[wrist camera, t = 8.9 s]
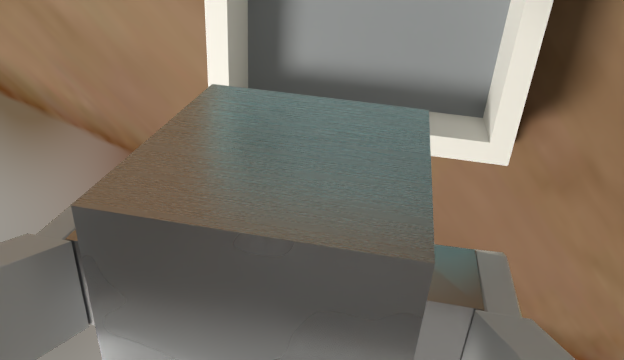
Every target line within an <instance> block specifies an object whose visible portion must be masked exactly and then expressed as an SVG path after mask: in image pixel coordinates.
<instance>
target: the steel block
mask: <svg viewBox="0 0 624 360" xmlns="http://www.w3.org/2000/svg"><path fill="white" fill-rule="evenodd" d="M71 209H72V214H73V219H74V224H75V229H76V234H77V239H78V244H79V249H80V254H81V259H82V264H83V269H84V273H85V278H86V283H87V288H88V293H89V298H90V303H91V308H92V313H93V318H94V323H95V328H96V332H97V337H98V342H99V347H100V352H101V357H102V360H414V356H415V351H416V347H417V342H418V338H419V333H420V329H421V324H422V320H423V315H424V311H425V306H426V302H427V297H428V293H429V288H430V284H431V279H432V275H433V270H434V266H435V254H434V228H433V203H432V177H431V151H430V125H429V110H425V109H417V108H409V107H400V106H392V105H384V104H375V103H367V102H359V101H350V100H342V99H334V98H325V97H317V96H309V95H300V94H292V93H284V92H275V91H267V90H259V89H250V88H242V87H234V86H225V85H217V84H212V85H210V86H209V87H208V88H207V89H206V90H205V91H203V92H202V93H201V94H200V95H199V96H198V97H197V98H195V99H194V100H193V101H192V102H191V103H190V104H188V105H187V106H186V107H185V108H184V109H183V110H181V111H180V112H179V113H178V114H177V115H176V116H174V117H173V118H172V119H171V120H170V121H169V122H167V123H166V124H165V125H164V126H163V127H162V128H160V129H159V130H158V131H157V132H156V133H155V134H153V135H152V136H151V137H150V138H149V139H148V140H146V141H145V142H144V143H143V144H142V145H141V146H139V147H138V148H137V149H136V150H135V151H134V152H132V153H131V154H130V155H129V156H128V157H127V158H126V159H124V160H123V161H122V162H121V163H120V164H119V165H118V166H116V167H115V168H114V169H113V170H112V171H110V172H109V173H108V174H107V175H106V176H105V177H103V178H102V179H101V180H100V181H99V182H98V183H96V184H95V185H94V186H93V187H92V188H91V189H90V190H88V191H87V192H86V193H85V194H84V195H82V196H81V197H80V198H79V199H78V200H77V201H75V202H74V203H73V204H72V205H71Z"/></svg>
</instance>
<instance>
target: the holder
mask: <svg viewBox="0 0 624 360" xmlns="http://www.w3.org/2000/svg"><path fill="white" fill-rule="evenodd" d="M553 1H554V0H205V20H206V43H207V67H208V87H209V86H210V85H212V84H217V85H225V86H234V87H242V88H250V89H259V90H267V91H275V92H284V93H292V94H300V95H309V96H317V97H325V98H334V99H342V100H350V101H359V102H367V103H375V104H384V105H392V106H400V107H409V108H417V109H425V110H429V125H430V151H431V156H437V157H444V158H452V159H460V160H467V161H475V162H482V163H490V164H498V165H505V166H508V163H509V160H510V156H511V153H512V149H513V145H514V142H515V138H516V135H517V131H518V127H519V124H520V120H521V116H522V113H523V109H524V106H525V102H526V98H527V95H528V91H529V87H530V84H531V80H532V77H533V73H534V69H535V66H536V62H537V58H538V55H539V51H540V48H541V44H542V40H543V37H544V33H545V30H546V26H547V22H548V19H549V15H550V11H551V8H552V4H553Z"/></svg>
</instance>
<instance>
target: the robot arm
mask: <svg viewBox="0 0 624 360" xmlns="http://www.w3.org/2000/svg"><path fill="white" fill-rule="evenodd" d="M84 194H85V193H84ZM84 194H83V195H84ZM78 199H79V198H78ZM78 199H77V200H78ZM77 200H76V201H77ZM71 205H72V204H71ZM71 205H70V206H69V207H68V208H67V209H66V210H64V211H63V212H62V213H61V214H60V215H58V217H56V218H55V219H54V220H52V221H51V222H50V223H49V224H48V225H47V226H45V227H44V228H43V229H42V230H41V231H39V232H38V233H37V234H36V235H33V234H25V235H22V236H19V237H16V238H13V239H10V240H7V241H4V242H0V360H36V359H38V358H40V357H41V356H43V355H44V354H46V353H48V352H49V351H51V350H53V349H54V348H56V347H57V346H59V345H61V344H62V343H64V342H65V341H67V340H69V339H70V338H72V337H73V336H75V335H77V334H78V333H80V332H82V331H83V330H85V329H86V328H88V327H89V324H90V325H95V323H94V318H93V313H92V308H91V303H90V298H89V293H88V288H87V283H86V278H85V273H84V269H83V264H82V259H81V254H80V249H79V244H78V239H77V234H76V229H75V224H74V219H73V214H72V209H71ZM434 254H435V266H434V270H433V275H432V279H431V284H430V288H429V293H428V297H427V302H426V306H425V311H424V315H423V320H422V324H421V329H420V333H419V338H418V342H417V347H416V351H415V356H414V360H575V359H574V358H573V357H572V356H571V355H570V354H569V353H568V352H567V351H565V350H564V349H563V348H562V347H561V346H560V345H559V344H558V343H557V342H556V341H555V340H553V339H552V338H551V337H550V336H549V335H548V334H547V333H546V332H545V331H544V330H543V329H541V328H540V327H539V326H538V325H537V324H536V323H535V322H534V321H533V320H532V319H527V318H522V315H521V311H520V307H519V303H518V299H517V295H516V291H515V287H514V283H513V280H512V276H511V272H510V268H509V264H508V260H507V256H506V255H505V254H504V253H502V252H494V251H485V250H477V249H466V248H458V247H451V246H444V245H437V244H434Z"/></svg>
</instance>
